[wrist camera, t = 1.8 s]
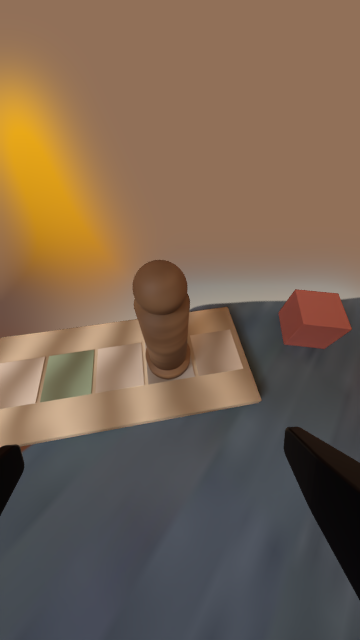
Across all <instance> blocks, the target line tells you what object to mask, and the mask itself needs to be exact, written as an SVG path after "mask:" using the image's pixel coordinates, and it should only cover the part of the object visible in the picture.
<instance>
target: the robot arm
mask: <svg viewBox="0 0 360 640" xmlns="http://www.w3.org/2000/svg"><path fill="white" fill-rule="evenodd" d="M284 452H285V455H286V457H287V460H288V462H289V464H290V466H291V469H292V471H293V473H294V475H295V477H296V480H297V482H298V484H299V486H300V489H301V491H302V493H303V495H304V498H305V500H306V502H307V504H308V506H309V508H310V510H311V512H312V514H313V516H314V518H315V520H316V521H317V523H318V525H319V527H320V529H321V531H322V532H323V534H324V536H325V538H326V540H327V542H328V543H329V545H330V547H331V549H332V551H333V552H334V554H335V556H336V558H337V560H338V562H339V563H340V565H341V567H342V569H343V571H344V573H345V574H346V576H347V578H348V580H349V582H350V583H351V585H352V587H353V589H354V591H355V593H356V594H357V596H358V598H359V600H360V463H359V462H357V461H356V460H354V459H352V458H351V457H349V456H347V455H346V454H344V453H342V452H340V451H339V450H337V449H335V448H334V447H332V446H330V445H329V444H327V443H325V442H324V441H322V440H320V439H319V438H317V437H315V436H314V435H312V434H310V433H308V432H307V431H305V430H303V429H302V428H300V427H288V428H286V430H285V439H284ZM23 470H24V460H23V456H22V452H21V449H20V446H19V445H17V444H12V445H4V446H2V447H0V515H1V513H2V511H3V510H4V508H5V506H6V504H7V502H8V500H9V498H10V496H11V494H12V492H13V490H14V488H15V487H16V485H17V483H18V481H19V479H20V477H21V475H22V473H23Z"/></svg>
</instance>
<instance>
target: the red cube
mask: <svg viewBox="0 0 360 640" xmlns="http://www.w3.org/2000/svg"><path fill="white" fill-rule="evenodd" d="M279 318H280V324H281V330H282V336H283V342H284V344H286V345H295V346H304V347H312V348H321V349H325V348H326V347H328V346H329V345H330V344H332V343H333V342H335V341H336V340H338V339H339V338H340V337H342V336H343V335H345V334H346V333H348V332H349V331H350V330H352V328H351V326H350V323H349V320H348V318H347V315H346V313H345V310H344V307H343V305H342V302H341V300H340V297H339V294H337V293H326V292H316V291H306V290H295V291H294V292H293V293H292V295H291V296H290V297H289V299H288V300H287V302H286V303H285V304H284V306H283V307H282V309H281V310H280V311H279Z"/></svg>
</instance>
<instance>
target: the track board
mask: <svg viewBox="0 0 360 640" xmlns="http://www.w3.org/2000/svg"><path fill="white" fill-rule="evenodd" d="M187 343H188V345H189V347H190V363H189V366H188V368H187V370H186V371H185V372H184V373H183V374H182V375H181V376H179V377H177V378H175V379H170V380H166V379H161V378H159V377H157V376H155V375H154V374H153V373H152V372H151V370H150V369H149V366H148V364H147V361H146V357H145V353H146V348H147V347H146V344H145V341H144V337H143V334H142V331H141V328H140V325H139V322H138V319H135V320H128V321H120V322H113V323H106V324H99V325H91V326H84V327H76V328H69V329H62V330H54V331H47V332H40V333H33V334H25V335H18V336H10V337H3V338H1V340H0V447H2V446H4V445H12V444H17V445H19V446H25V445H31V444H36V443H42V442H47V441H53V440H58V439H64V438H69V437H74V436H80V435H85V434H91V433H96V432H102V431H107V430H113V429H118V428H124V427H129V426H135V425H140V424H145V423H151V422H156V421H162V420H167V419H173V418H178V417H184V416H189V415H195V414H200V413H205V412H211V411H216V410H222V409H227V408H233V407H238V406H244V405H249V404H255V403H258V402H260V401H261V397H260V395H259V392H258V389H257V386H256V384H255V381H254V378H253V375H252V373H251V370H250V367H249V364H248V362H247V359H246V356H245V354H244V351H243V348H242V345H241V343H240V340H239V337H238V334H237V332H236V329H235V326H234V324H233V321H232V318H231V315H230V313H229V310H228V307H223V308H216V309H209V310H201V311H194V312H189V323H188V337H187Z"/></svg>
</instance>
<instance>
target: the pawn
mask: <svg viewBox="0 0 360 640" xmlns="http://www.w3.org/2000/svg"><path fill="white" fill-rule="evenodd" d="M133 294H134V297H135V300H134V309H135V312H136V315H137V319H138V322H139V325H140V328H141V331H142V334H143V337H144V341H145V344H146V347H147V348H146V353H145V357H146V361H147V364H148V366H149V369H150V370H151V372H152V373H153V374H154V375H155V376H157V377H159V378H161V379H166V380H170V379H175V378H177V377H179V376H181V375H182V374H183V373H184V372H185V371H186V370H187V368H188V366H189V363H190V347H189V345H188V343H187V337H188V323H189V308H190V299H189V296H188V294H187V281H186V278H185V276H184V274H183V272H182V271H181V270H180V269H179V268H178V267H177V266H176V265H175V264H173V263H171V262H169V261H165V260H154V261H151V262H148V263H146V264H145V265H143V266H142V267H141V268H140V269H139V270H138V272H137V273H136V275H135V277H134V280H133Z"/></svg>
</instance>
